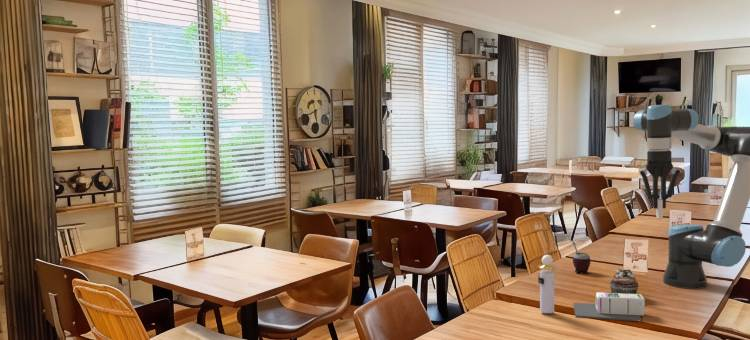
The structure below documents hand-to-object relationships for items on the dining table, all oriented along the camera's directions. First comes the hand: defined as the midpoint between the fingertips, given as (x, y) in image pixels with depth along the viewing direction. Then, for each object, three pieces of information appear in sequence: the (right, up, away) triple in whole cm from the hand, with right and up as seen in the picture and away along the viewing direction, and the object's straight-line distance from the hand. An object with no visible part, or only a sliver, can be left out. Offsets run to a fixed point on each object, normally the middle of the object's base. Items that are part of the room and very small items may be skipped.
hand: (659, 217), depth 206 cm
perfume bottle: (-41, -32, -6) cm, 52 cm away
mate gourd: (-12, -27, +45) cm, 54 cm away
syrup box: (-10, -28, -10) cm, 31 cm away
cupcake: (-8, -30, +10) cm, 33 cm away
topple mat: (-21, -31, -6) cm, 38 cm away
